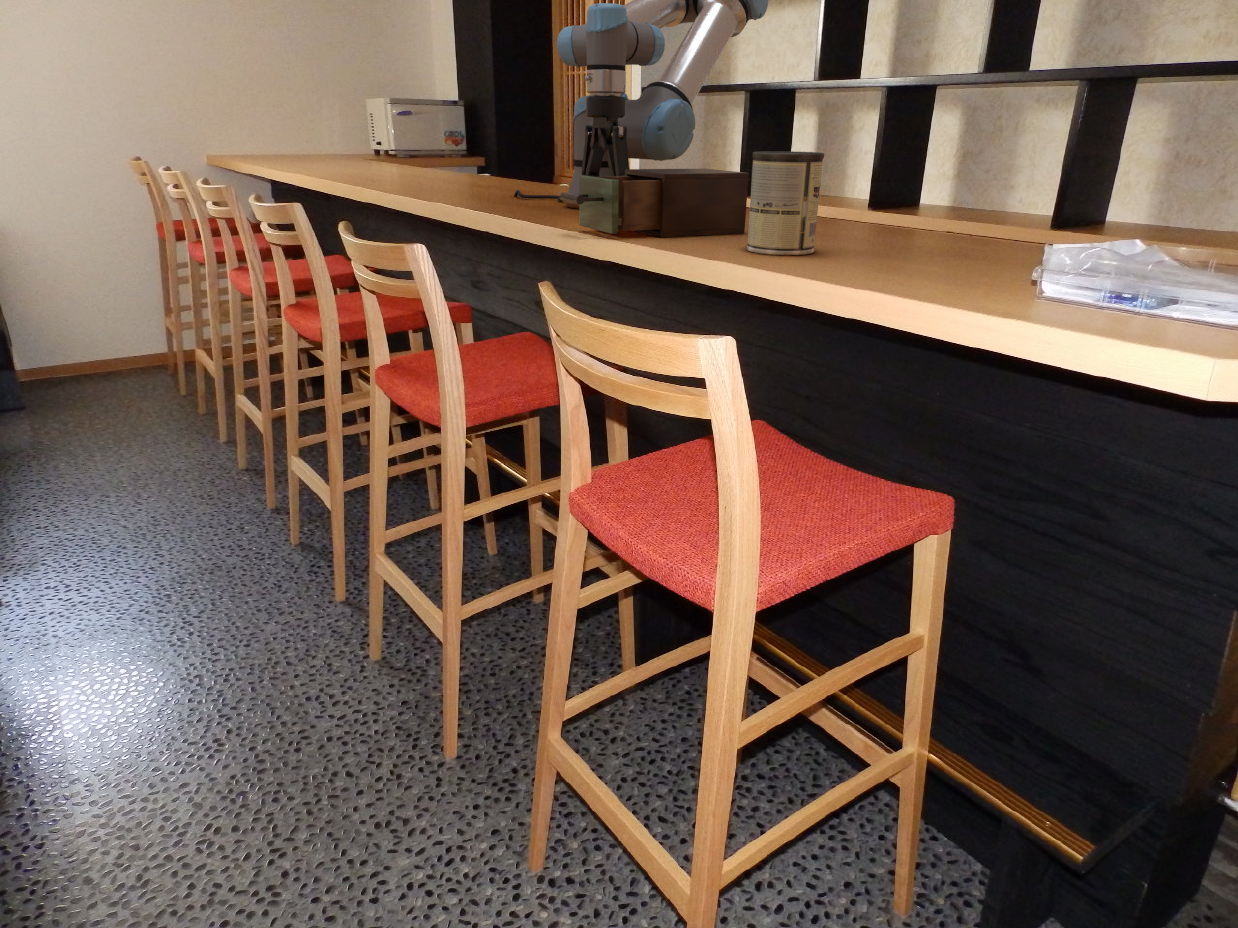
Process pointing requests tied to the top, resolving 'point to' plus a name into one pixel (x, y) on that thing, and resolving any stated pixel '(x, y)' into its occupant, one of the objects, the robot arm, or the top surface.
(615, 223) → the drawer
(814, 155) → the coffee can
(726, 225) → the cabinet
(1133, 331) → the top surface
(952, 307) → the top surface
